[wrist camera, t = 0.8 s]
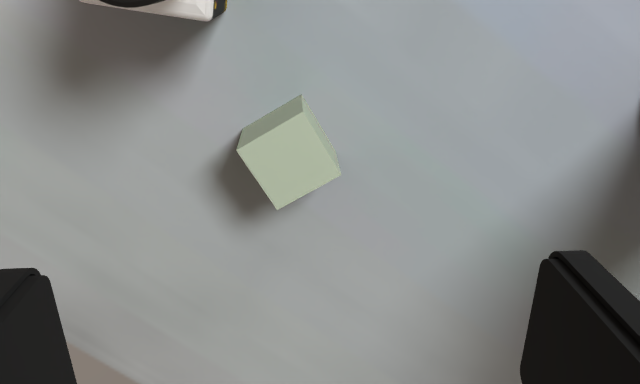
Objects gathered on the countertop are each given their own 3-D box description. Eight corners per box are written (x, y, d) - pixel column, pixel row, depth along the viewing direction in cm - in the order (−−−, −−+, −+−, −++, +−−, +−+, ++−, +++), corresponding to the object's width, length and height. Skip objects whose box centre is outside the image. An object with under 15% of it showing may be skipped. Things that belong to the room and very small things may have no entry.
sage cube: (301, 94, 36) (302, 111, 32) (335, 150, 38) (341, 174, 34) (242, 128, 37) (236, 150, 33) (278, 182, 39) (277, 210, 34)
